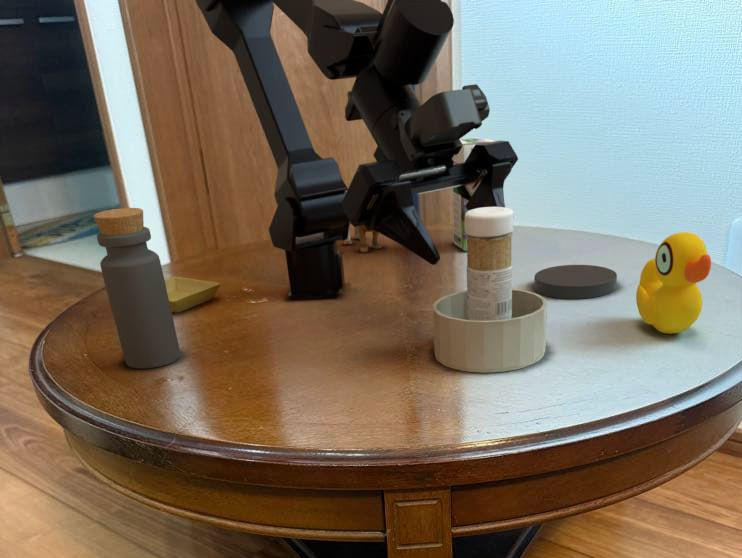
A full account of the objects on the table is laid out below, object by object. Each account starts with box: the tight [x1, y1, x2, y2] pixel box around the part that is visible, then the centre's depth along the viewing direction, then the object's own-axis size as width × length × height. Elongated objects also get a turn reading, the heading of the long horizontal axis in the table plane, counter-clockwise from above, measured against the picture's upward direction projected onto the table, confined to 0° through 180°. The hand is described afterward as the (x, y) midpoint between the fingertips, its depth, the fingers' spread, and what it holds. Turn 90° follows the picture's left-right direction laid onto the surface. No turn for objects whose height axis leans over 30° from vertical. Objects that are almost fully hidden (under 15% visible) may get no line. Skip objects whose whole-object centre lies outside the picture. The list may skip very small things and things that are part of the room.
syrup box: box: [452, 137, 495, 252], centre depth 118 cm, size 6×6×14 cm
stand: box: [533, 264, 618, 300], centre depth 99 cm, size 10×10×2 cm
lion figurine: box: [343, 221, 383, 253], centre depth 123 cm, size 15×5×9 cm, turn 33°
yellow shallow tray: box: [164, 276, 221, 314], centre depth 104 cm, size 9×9×2 cm
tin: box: [432, 288, 548, 374], centre depth 81 cm, size 11×11×5 cm
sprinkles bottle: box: [465, 206, 514, 321], centre depth 78 cm, size 5×5×13 cm
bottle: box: [93, 207, 181, 369], centre depth 82 cm, size 6×6×15 cm
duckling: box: [635, 231, 712, 335], centre depth 81 cm, size 11×5×10 cm, turn 11°
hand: (473, 252), depth 78 cm, fingers open, 9 cm apart
